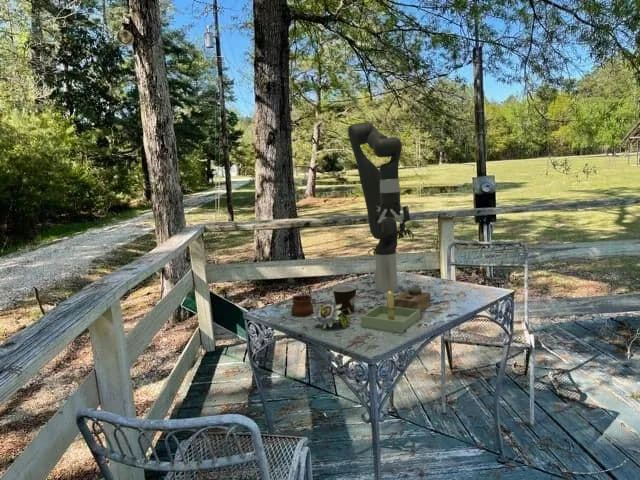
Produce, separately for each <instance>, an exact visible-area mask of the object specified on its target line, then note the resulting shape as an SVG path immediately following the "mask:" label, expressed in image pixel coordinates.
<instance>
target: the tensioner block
mask: <svg viewBox="0 0 640 480" xmlns="http://www.w3.org/2000/svg"><path fill="white" fill-rule="evenodd" d="M431 303H432V301H431V292H424V291H423V292H422V288H421V287H420V286H418V285H416V286H409V287H408V289H407V290H405V291H403V292H402V293H400V294H399V295H397V296H395V297H394V307H402V308H410V309H418V310H420V314H422V313H423V312H424V311H426V309H428V308H429V307H431V306H432V304H431Z"/></svg>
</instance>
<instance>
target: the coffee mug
mask: <svg viewBox="0 0 640 480" xmlns="http://www.w3.org/2000/svg"><path fill="white" fill-rule="evenodd" d="M332 291H333V297H334V304H335V305H338V304H342V306H341V307H340V308H339V309H338V310H340V311H341V312H342V313H343V314H345V315H346V316H348V314H349V311H348V310H347V308H349V310H350V312H351V313H354V311H355V299H356V295H357V294H356V293H357V289H356V287H355V286H351V285H340V286H336V287H333V288H332ZM344 309H346V310H344ZM342 310H343V311H342ZM349 315H350V314H349Z"/></svg>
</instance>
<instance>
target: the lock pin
mask: <svg viewBox="0 0 640 480" xmlns="http://www.w3.org/2000/svg"><path fill="white" fill-rule="evenodd" d="M394 298H395V297H394V292H393V291H392V290H389V291H387V292H386V306H387V311H388V319H389V320H395V316H394Z"/></svg>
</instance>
